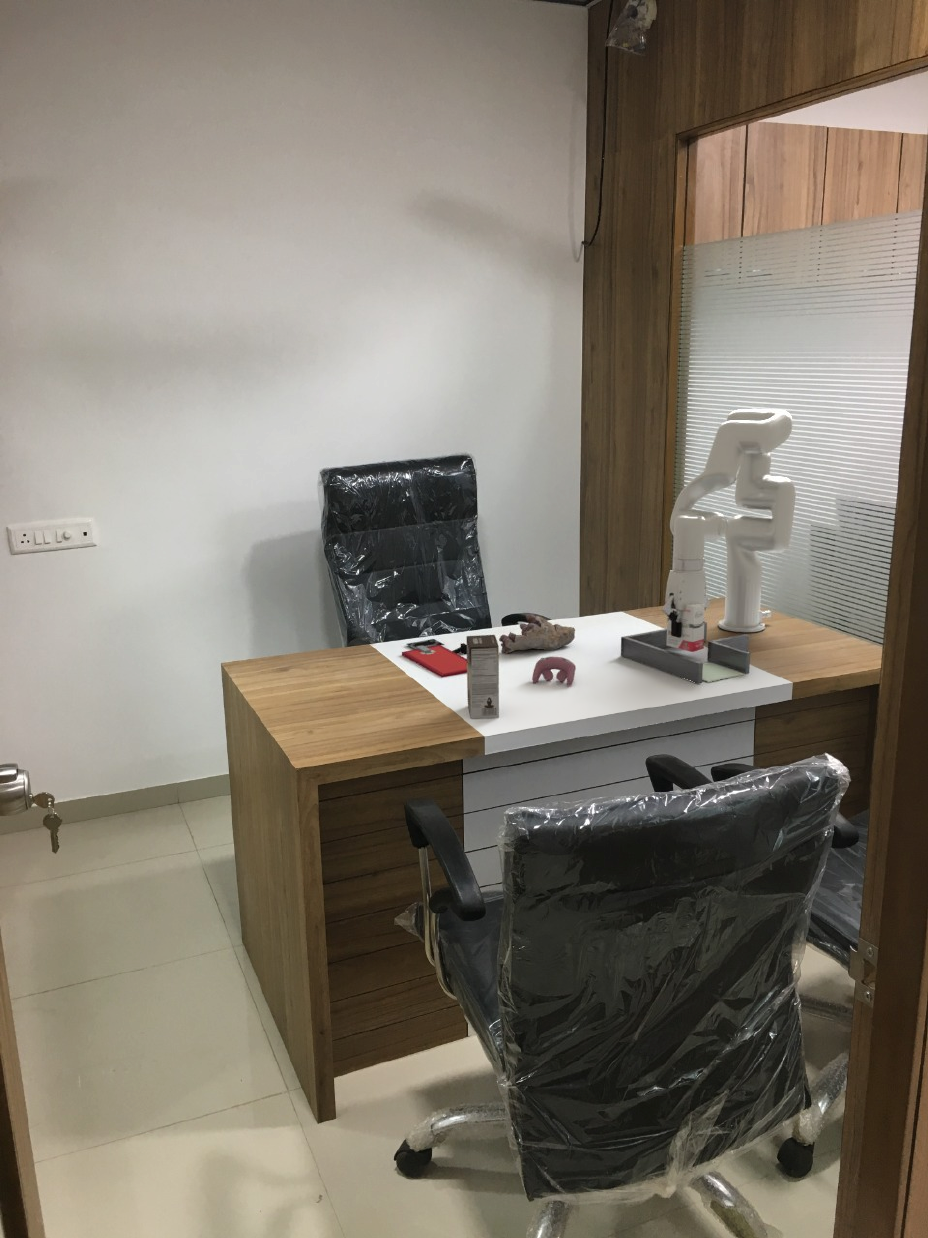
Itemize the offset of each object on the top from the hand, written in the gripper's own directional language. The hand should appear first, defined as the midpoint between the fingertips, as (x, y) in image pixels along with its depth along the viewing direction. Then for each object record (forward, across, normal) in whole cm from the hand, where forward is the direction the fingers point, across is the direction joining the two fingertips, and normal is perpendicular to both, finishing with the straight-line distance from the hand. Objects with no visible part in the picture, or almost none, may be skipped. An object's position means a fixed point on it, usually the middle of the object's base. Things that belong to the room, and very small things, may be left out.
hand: (685, 633), depth 256 cm
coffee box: (+6, +66, +9) cm, 67 cm away
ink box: (+4, 0, 0) cm, 4 cm away
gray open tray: (+6, 0, +6) cm, 8 cm away
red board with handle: (+6, +53, -32) cm, 63 cm away
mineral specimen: (+6, +28, -25) cm, 38 cm away
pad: (+6, +6, +15) cm, 17 cm away
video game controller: (+6, +41, 0) cm, 41 cm away
